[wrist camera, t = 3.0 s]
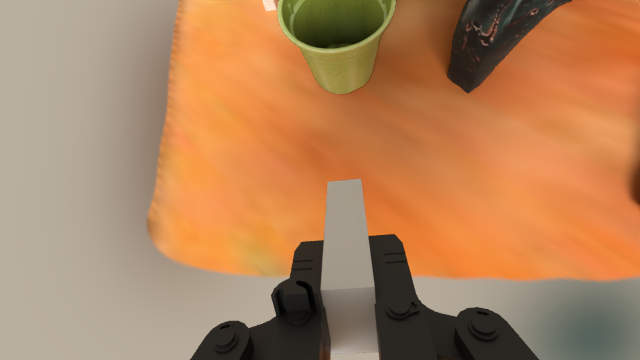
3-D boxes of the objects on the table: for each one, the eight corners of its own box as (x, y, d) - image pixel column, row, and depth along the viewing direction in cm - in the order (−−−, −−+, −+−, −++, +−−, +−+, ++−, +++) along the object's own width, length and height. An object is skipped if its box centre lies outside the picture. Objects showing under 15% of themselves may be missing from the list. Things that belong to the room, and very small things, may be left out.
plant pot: (314, 25, 37) (297, -49, 29) (399, 38, 35) (408, -38, 26) (287, 99, 34) (261, 41, 26) (376, 117, 32) (378, 61, 24)
